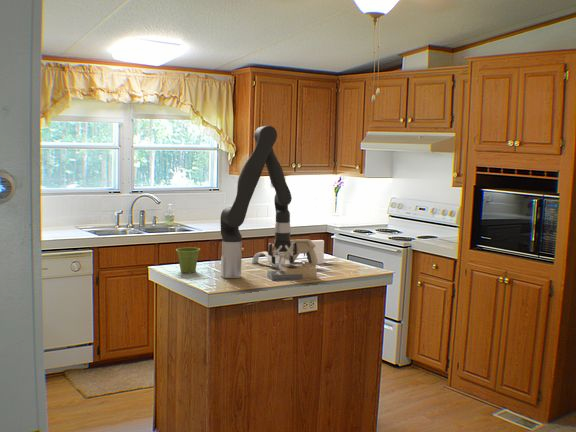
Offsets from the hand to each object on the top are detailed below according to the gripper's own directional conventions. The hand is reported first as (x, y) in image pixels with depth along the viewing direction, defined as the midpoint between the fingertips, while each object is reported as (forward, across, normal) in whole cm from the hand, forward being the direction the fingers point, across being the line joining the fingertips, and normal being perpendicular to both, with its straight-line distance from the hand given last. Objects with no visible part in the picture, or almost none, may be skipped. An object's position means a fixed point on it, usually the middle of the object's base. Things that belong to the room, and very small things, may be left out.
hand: (282, 263), depth 296 cm
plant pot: (+4, -45, +11) cm, 47 cm away
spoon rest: (+5, -1, +18) cm, 19 cm away
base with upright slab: (+5, +26, +25) cm, 36 cm away
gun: (+5, +12, +17) cm, 21 cm away
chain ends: (+5, +2, -11) cm, 12 cm away
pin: (+5, 0, 0) cm, 5 cm away
